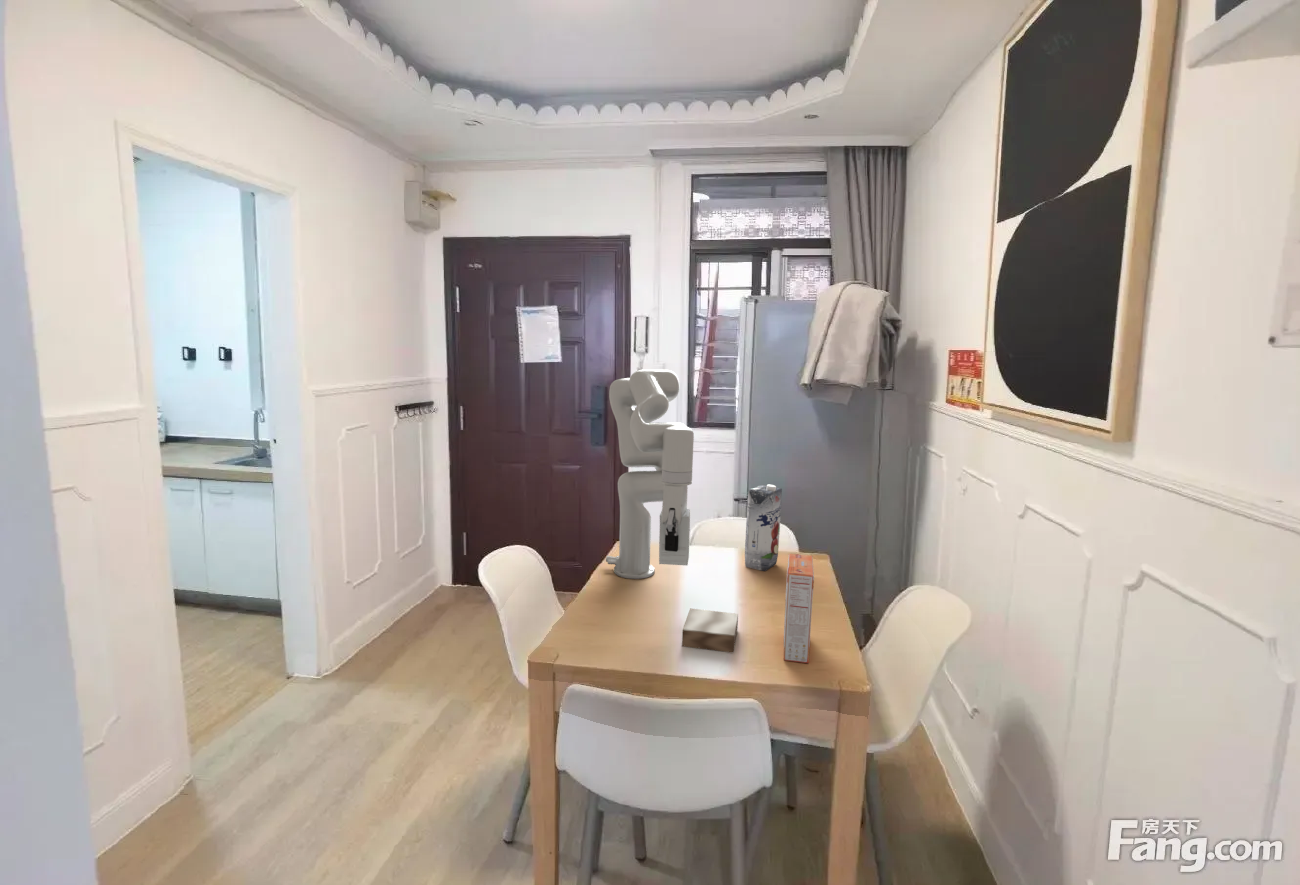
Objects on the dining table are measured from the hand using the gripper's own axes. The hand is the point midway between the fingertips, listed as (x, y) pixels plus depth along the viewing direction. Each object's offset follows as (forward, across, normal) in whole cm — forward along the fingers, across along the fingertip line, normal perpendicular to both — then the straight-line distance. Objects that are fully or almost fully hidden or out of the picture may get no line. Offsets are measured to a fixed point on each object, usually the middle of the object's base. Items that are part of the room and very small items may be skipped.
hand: (674, 545), depth 157 cm
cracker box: (+20, +7, +31) cm, 37 cm away
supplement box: (+4, 0, 0) cm, 4 cm away
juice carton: (+20, -48, +20) cm, 56 cm away
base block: (+20, +7, +11) cm, 24 cm away
